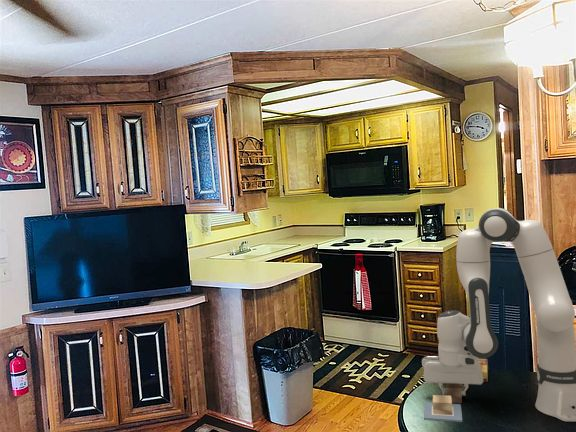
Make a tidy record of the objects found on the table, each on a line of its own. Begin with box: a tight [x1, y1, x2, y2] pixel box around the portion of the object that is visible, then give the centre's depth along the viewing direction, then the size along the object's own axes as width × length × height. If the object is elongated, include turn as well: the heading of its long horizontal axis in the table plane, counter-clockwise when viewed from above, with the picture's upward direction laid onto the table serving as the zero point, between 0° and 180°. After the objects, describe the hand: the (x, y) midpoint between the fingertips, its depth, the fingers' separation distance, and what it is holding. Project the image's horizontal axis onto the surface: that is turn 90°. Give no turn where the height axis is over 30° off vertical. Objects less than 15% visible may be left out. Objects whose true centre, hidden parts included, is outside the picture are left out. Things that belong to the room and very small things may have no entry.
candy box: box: [478, 358, 489, 383], centre depth 195 cm, size 9×4×15 cm
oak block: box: [432, 394, 453, 415], centre depth 165 cm, size 6×6×4 cm
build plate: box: [423, 401, 463, 423], centre depth 165 cm, size 12×12×1 cm
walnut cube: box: [445, 383, 463, 404], centre depth 174 cm, size 5×5×5 cm
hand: (453, 394), depth 174 cm, fingers closed on walnut cube, 5 cm apart
